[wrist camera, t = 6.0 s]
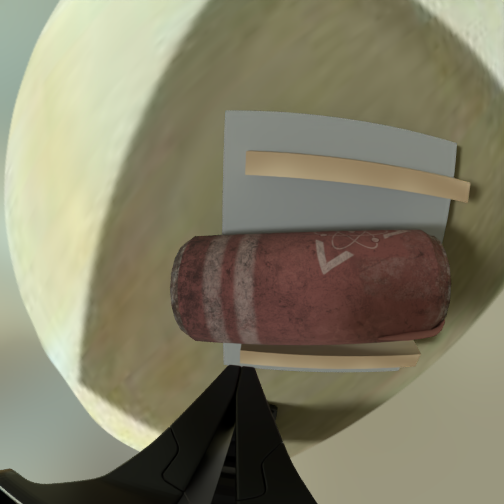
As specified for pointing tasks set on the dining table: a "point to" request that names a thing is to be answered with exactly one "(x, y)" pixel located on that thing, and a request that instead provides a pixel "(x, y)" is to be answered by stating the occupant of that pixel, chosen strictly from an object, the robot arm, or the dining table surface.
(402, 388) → the dining table surface
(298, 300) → the can
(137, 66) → the dining table surface
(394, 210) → the tray
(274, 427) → the robot arm
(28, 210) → the dining table surface
